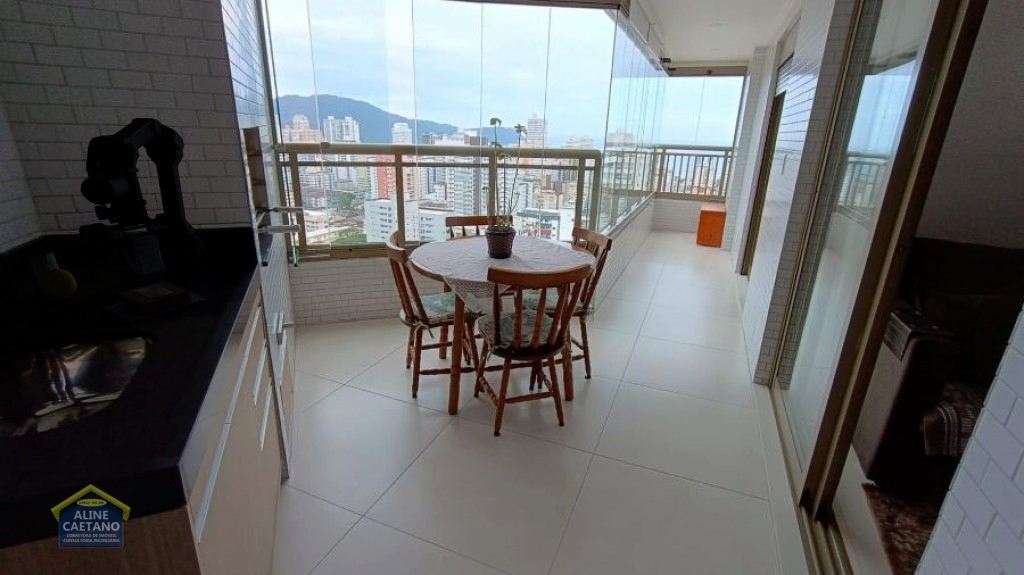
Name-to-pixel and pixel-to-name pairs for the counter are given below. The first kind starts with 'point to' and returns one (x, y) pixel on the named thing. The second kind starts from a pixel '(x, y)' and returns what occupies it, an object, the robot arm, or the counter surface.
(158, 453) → the counter surface
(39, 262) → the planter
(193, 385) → the counter surface
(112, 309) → the blueprint mat
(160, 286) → the plinth
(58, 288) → the lemon
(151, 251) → the medicine box
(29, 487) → the counter surface
